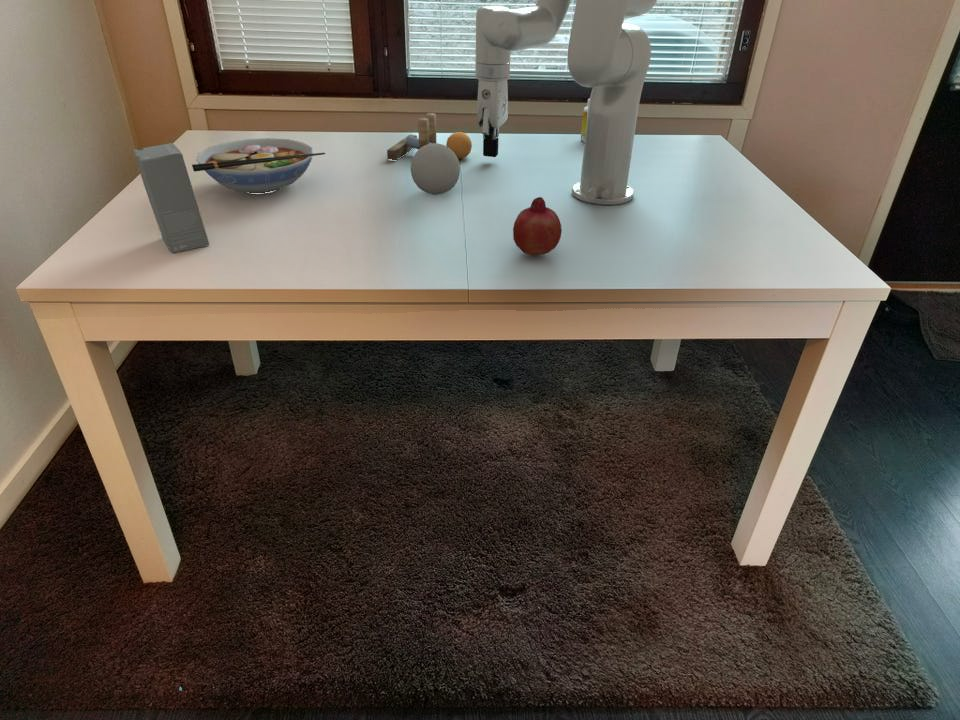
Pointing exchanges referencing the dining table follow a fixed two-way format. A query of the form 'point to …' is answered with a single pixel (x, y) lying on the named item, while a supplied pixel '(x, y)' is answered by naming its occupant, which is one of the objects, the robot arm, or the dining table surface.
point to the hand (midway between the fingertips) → (490, 155)
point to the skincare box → (171, 196)
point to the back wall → (399, 149)
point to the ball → (435, 169)
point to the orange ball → (459, 144)
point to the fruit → (537, 229)
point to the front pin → (413, 142)
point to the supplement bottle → (584, 122)
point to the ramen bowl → (256, 163)
